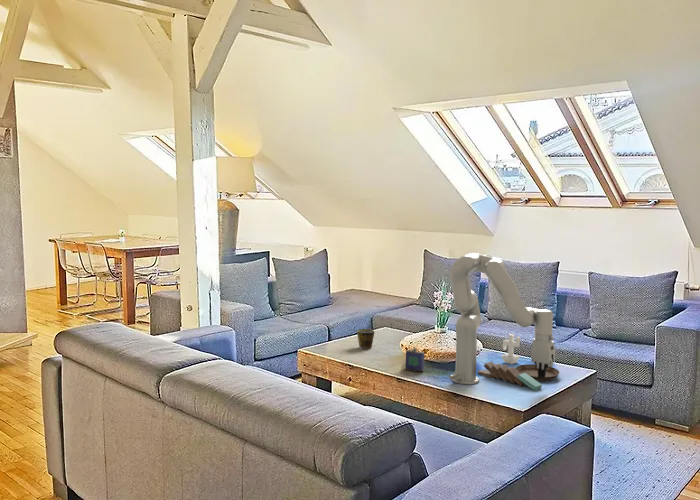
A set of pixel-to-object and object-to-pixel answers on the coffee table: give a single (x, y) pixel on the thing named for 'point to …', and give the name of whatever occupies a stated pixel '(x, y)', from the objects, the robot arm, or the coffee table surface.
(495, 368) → the domino
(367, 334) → the ceramic cup
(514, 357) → the figurine
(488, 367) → the domino
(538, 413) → the coffee table surface
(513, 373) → the domino
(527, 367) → the plant saucer
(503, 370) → the domino
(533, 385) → the tile
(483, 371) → the domino
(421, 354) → the flask
